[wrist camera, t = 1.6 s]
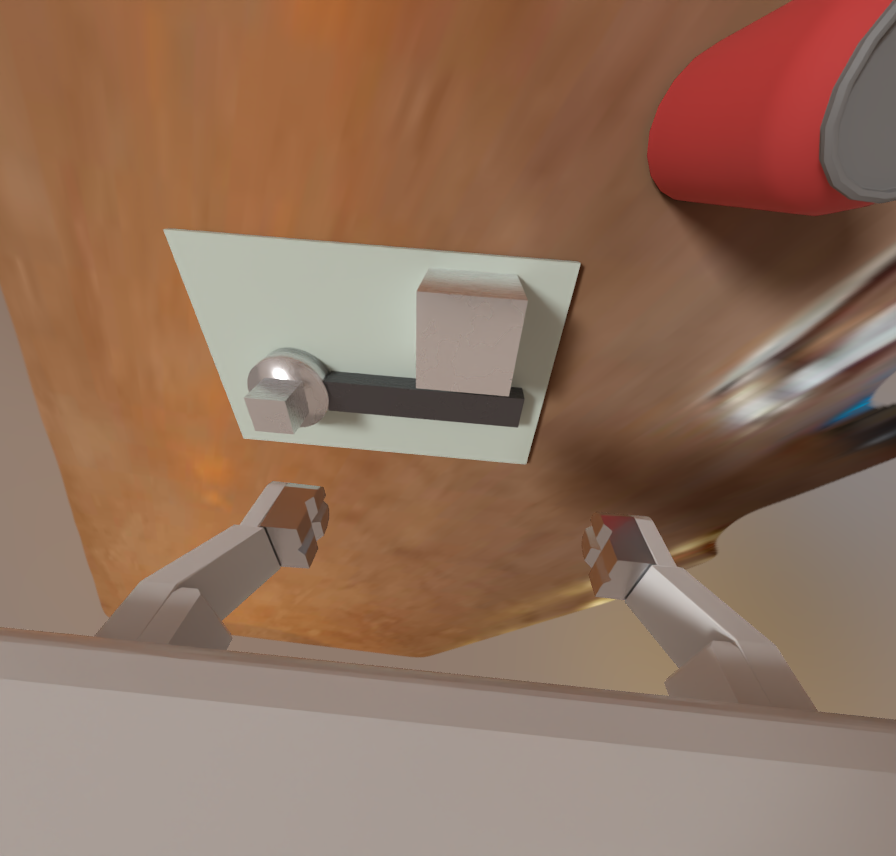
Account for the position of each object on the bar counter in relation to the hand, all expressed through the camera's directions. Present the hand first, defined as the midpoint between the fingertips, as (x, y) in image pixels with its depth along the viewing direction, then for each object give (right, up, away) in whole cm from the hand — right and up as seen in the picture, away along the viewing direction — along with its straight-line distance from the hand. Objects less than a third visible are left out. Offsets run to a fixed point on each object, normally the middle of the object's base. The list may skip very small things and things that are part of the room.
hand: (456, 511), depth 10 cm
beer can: (+14, +19, +8) cm, 25 cm away
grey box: (+1, +11, +14) cm, 18 cm away
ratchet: (-5, +6, +19) cm, 20 cm away
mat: (-6, +8, +18) cm, 21 cm away
